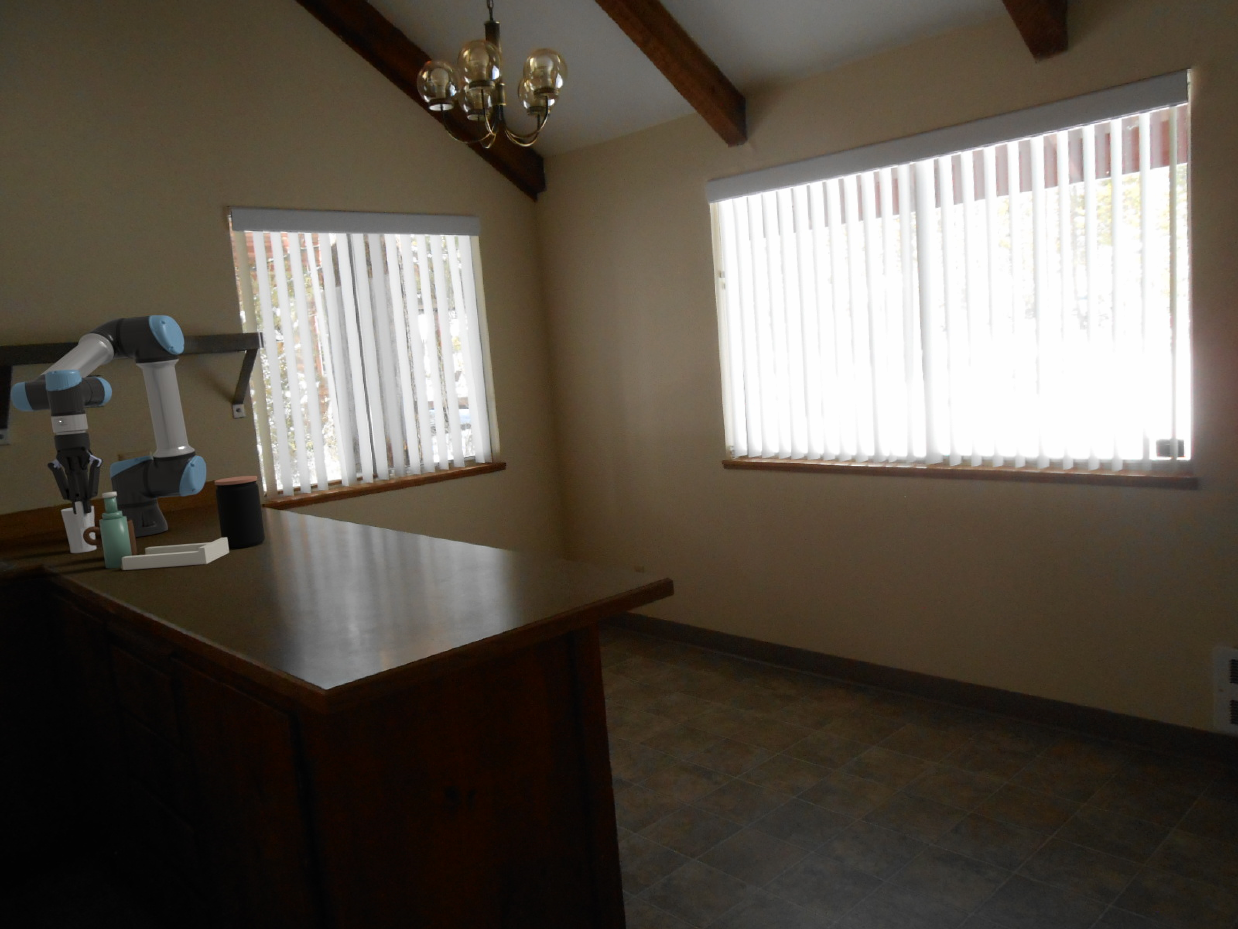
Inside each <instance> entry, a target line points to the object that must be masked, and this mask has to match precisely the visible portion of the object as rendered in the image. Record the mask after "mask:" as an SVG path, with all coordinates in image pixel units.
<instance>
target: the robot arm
mask: <svg viewBox="0 0 1238 929" xmlns="http://www.w3.org/2000/svg"><path fill="white" fill-rule="evenodd" d="M182 331H183V330H181V327H180V326H179V324H178V323H177V322H176V320H175V319H174V318H173V317H171V316H170V315H164V314H163V315H162V314H158V315H154V314H153V315H145V316H144V315H143V316H133V317H119V318H114V319H111V320H108V321H106V322H104V323H101V324H100V325H97V326H96V327H95V328H92V329H91V330H89V331H88V332H87V333H85V334H84V335H82V336H81V338H80V339H79V341H78V344H77V345H76V346H75V347H74V348H72V349H71V350H69V352H67V353H66V354H64V356H63V357H61V358H60V359H59V360H57V361H56V362H55V363H53V364H52V365H51V366H50V367H48V368H47V369H46V370H45V371H43V372H42V373H41V374H39V375H38V376H36V378H34V380H31V381H23V382H22V381H21V382H16V383H15V384H14V385H12V387H11V390H10V400H11V401H12V404H13V406H14V407H15V409H17V410H19V411H20V412H33V413H34V412H39V411H40V412H41V411H50V419H51V426H52V432H53V433H54V434H56V435H54V436H53V440H54V441H53V442H54V448H55V450H56V455H55V459H54V460H53V461H51V462H48V463H47V468H48V469H49V470H50V471H51V472H52V474H53V478H54V480H55V483H56V484H57V487H58V489H59V492H60V495H61V498H62V499H63V500H64V501H70V502H71V506H72V507H71V508H73V513H74V514H77V520H78V527H79V528H85V527H88V526H91V523H90V516H89V513H91V511H92V509H91V506H92V504H91V503H92V502H91V500H92V499H93V498H96V497H97V496H98V495H99V486H100V485H99V483H100V474H101V467H102V465H103V463H104V459H103V458H102V457H99V458H98V457H97V456H95V455H93V454H94V453H93V452H92V450H91V441H90V440H91V438H90V433H88V432H86V431H87V430H89V425H88V420H87V414H86V413H87V412H86V408H89V407H94V408H95V407H96V408H97V407H100V406H103V405H106V404H107V403H108V402H109V401H110V400H111V398H112V395H113V389H112V387H111V384H110V383H109V381H107V380H106V379H105V378H102V377H96V376H89V375H90V374H91V373H93V371H95V370H96V369H98V367H100V366H103V365H107V364H108V363H111V361H113V360H120V359H126V358H128V359H132V358H133V359H134V364H135V365H136V366H137V367H139V368H140V369H141V370H142V374H143V379H144V380H143V381H144V384H145V389H146V396H147V401H148V406H149V413H150V417H151V423H152V427H153V429H152V430H153V434H154V440H155V445H156V450H155V451H154V453H153V454H152V455H150V454H149V455H144V456H143V455H142V456H138V457H134V458H130V459H125V460H119V461H116V462H113V463H112V464H111V465H110V468H109V476H110V477H109V479H110V482H111V484H110V485H111V490H112V491H111V492H116V493H117V496H116V503H117V510H118V511H122V516H126V518H127V519H131V520H132V523H133V527H134V534H135V538H138V537H144V536H145V537H146V536H151V535H155V534H160V533H164V532H167V531H168V529H169V528H168V522H167V520H166V517H165V516H164V515H163V513H162V511H161V510H162V509H160V506H159V502H158V498H169V497H170V498H171V497H187V496H192V495H193V496H194V495H197V494H198V493H200V492H201V491H202V489H203V488H204V487H205V483H206V479H207V465H206V462H205V459H204V458H203V457H202V456H200V455H197V454H196V449H195V448H194V447H192V446H191V445H190V444H189V441H188V435H187V429H186V424H185V423H186V422H185V420H184V419H185V418H184V413H183V407H182V401H181V397H180V396H181V395H180V389H179V384H178V378H177V373H176V369H175V366H176V364H178V362H179V360H180V359H179V357H180V356H179V355H180V354H182V353H183V352H184V350H185V338H184V334H183V332H182ZM87 376H88V377H87ZM89 465H90V467H89ZM62 467H63V468H62Z"/></svg>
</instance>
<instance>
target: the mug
mask: <svg viewBox="0 0 1238 929" xmlns="http://www.w3.org/2000/svg"><path fill="white" fill-rule="evenodd" d="M127 525H128V532H129V539H130V546H131V553H132V556H136V555H137V549H138V548H137V543H136V537H135V534H134V527H133V523H132V520H131V519H127ZM94 526H95V525H94ZM94 526H93V527H89V528H87V529H86V530H85V531H84V533H83V539H84V541H85V542H86V543H87V544H89V545H92V546H96V547H97V546H98V547H100V548H103V544H102V538H95V539H92V538H91V537H90V535H89V534H90V533H91V532H93V533H95V534H100V535H101V530H100V526H99V527H98V526H95V527H94Z"/></svg>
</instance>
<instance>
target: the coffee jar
mask: <svg viewBox="0 0 1238 929" xmlns="http://www.w3.org/2000/svg"><path fill="white" fill-rule="evenodd" d="M257 481H258V476H257V475H242V476H233V477H226V478H221V479H220V478H219V479H216V480H214V485H215V486H216V488H215V497H216V506H217V514H218V521H219V526H220V535H221V537H220V538H225V537H227V539H228V547H229V550H239V549H247V548H251V547H255V546H260V545H262V544H263V543H264V541H265V536H266V535H265V528H264V521H263V519H264V518H263V513H262V512H263V511H262V505H261V504H262V503H261V497H260V489H259V485H258V483H257Z"/></svg>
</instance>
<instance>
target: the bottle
mask: <svg viewBox="0 0 1238 929" xmlns="http://www.w3.org/2000/svg"><path fill="white" fill-rule="evenodd" d="M116 496H117V493H116V492H113V491H108V492H102V493H101V497H102V498H103V502H104V508H105V512H103V513H101V517H102V519H99V520H98V522H99V528H100V530H101V534H100V536H101V540H102V544H103V547H102V549H103V555H104V556H103V557H104V562H105V569H118V568H121V564H122V558H123V557H125V556H132V553H131V546H130V539H129V532H128V525H127V518H126V516H122V511H118V510H117V503H116Z"/></svg>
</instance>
